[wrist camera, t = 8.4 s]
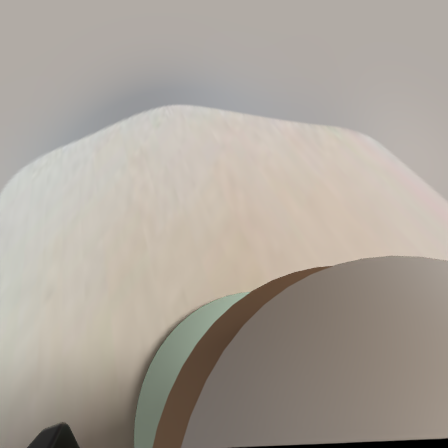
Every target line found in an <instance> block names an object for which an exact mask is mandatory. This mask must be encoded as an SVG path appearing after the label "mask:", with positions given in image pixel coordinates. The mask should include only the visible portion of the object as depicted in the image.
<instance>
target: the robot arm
mask: <svg viewBox="0 0 448 448" xmlns="http://www.w3.org/2000/svg"><path fill="white" fill-rule="evenodd" d="M27 448H80V447H79V445H78V443H77V441H76V439H75V437H74V435H73V433H72V431H71V429H70V427H69V426H68V424H66V423H63V422H62V423H59V424H56V425H53V426H51V427H48V428H46V429H44V430H42V431H41V433H40V434H39V435H38V436H37V437H36V438H35V439H34V440H33V442H32V443H31V444H30V445H29V446H28V447H27Z"/></svg>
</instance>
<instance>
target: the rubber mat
mask: <svg viewBox="0 0 448 448" xmlns="http://www.w3.org/2000/svg"><path fill="white" fill-rule="evenodd" d="M249 293H250V292H246V293H238V294H234V295H229V296H226V297H223V298H220V299H217V300H215V301H212V302H210V303H209V304H207V305H205V306H203V307H201V308H199V309H198V310H196V311H195V312H193V313H192V314H191V315H189V316H188V317H187V318H186V319H185V320H183V321H182V322H181V323H180V324H179V325H178V326H177V327H176V328H175V329H174V330H173V331H172V332H171V334H170V335H169V336H168V337H167V338H166V340H165V341H164V343H163V344H162V345H161V347H160V348H159V350H158V351H157V353H156V355H155V357H154V359H153V361H152V362H151V364H150V366H149V369H148V371H147V374H146V376H145V379H144V381H143V384H142V388H141V392H140V395H139V399H138V404H137V410H136V416H135V427H134V448H153V443H154V439H155V435H156V430H157V426H158V423H159V421H160V418H161V415H162V412H163V409H164V406H165V403H166V401H167V398H168V395H169V393H170V391H171V389H172V386H173V384H174V382H175V380H176V378H177V376H178V374H179V372H180V370H181V368H182V366H183V364H184V363H185V361H186V360H187V358H188V357H189V355H190V353H191V352H192V350H193V349H194V347H195V346H196V344H197V343H198V341H199V340H200V339H201V338H202V336H203V335H204V334H205V333H206V332H207V330H208V329H209V328H210V327H211V326H212V324H213V323H214V322H215V321H216V320H217V319H218V318H219V317H220V316H221V315H223V314H224V313H225V312H226V311H227V310H228V309H229V308H230V307H231V306H232V305H233V304H235V303H236V302H238V301H239V300H240V299H242V298H243V297H245V296H246V295H247V294H249Z"/></svg>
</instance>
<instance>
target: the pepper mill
mask: <svg viewBox="0 0 448 448" xmlns="http://www.w3.org/2000/svg"><path fill="white" fill-rule="evenodd" d="M153 448H448V261H445V260H438V259H431V258H424V257H407V256H386V257H375V258H365V259H360V260H355V261H351V262H346V263H342V264H338V265H335V266H327V267H317V268H312V269H307V270H303V271H298V272H294V273H291V274H288V275H286V276H283V277H280V278H278V279H275V280H272V281H270V282H268V283H267V284H265V285H263V286H261V287H259V288H257V289H255V290H253V291H252V292H250V293H249V294H247V295H246V296H245V297H243V298H242V299H240V300H239V301H238V302H236V303H235V304H233V305H232V306H231V307H230V308H229V309H228V310H227V311H226V312H225V313H224V314H223V315H221V316H220V317H219V318H218V319H217V320H216V321H215V322H214V323H213V324H212V326H211V327H210V328H209V329H208V330H207V332H206V333H205V334H204V335H203V336H202V338H201V339H200V340H199V341H198V343H197V344H196V346H195V347H194V349H193V350H192V352H191V353H190V355H189V357H188V358H187V360H186V361H185V363H184V364H183V366H182V368H181V370H180V372H179V374H178V376H177V378H176V380H175V382H174V384H173V386H172V389H171V391H170V393H169V395H168V398H167V401H166V403H165V406H164V409H163V412H162V415H161V418H160V421H159V423H158V426H157V430H156V435H155V439H154V443H153Z"/></svg>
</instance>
